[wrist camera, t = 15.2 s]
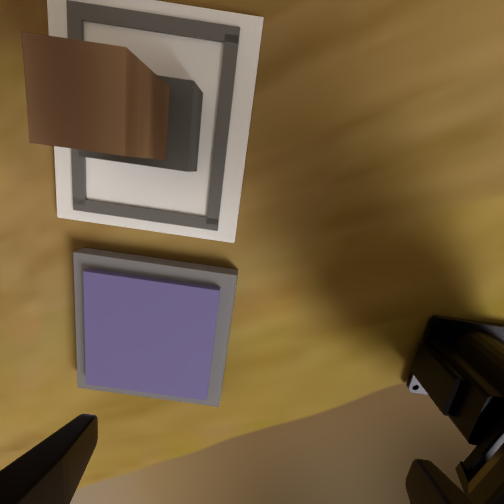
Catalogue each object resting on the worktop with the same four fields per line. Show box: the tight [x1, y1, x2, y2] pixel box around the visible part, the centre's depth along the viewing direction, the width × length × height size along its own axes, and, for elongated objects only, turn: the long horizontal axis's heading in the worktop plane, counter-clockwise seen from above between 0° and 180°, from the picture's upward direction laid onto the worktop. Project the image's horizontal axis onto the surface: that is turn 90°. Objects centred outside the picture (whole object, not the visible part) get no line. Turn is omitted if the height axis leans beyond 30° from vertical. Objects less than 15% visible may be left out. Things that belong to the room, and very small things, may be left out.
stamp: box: [22, 32, 203, 172], centre depth 14 cm, size 6×4×8 cm
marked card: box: [47, 0, 264, 243], centre depth 18 cm, size 12×13×1 cm
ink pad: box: [73, 247, 238, 407], centre depth 21 cm, size 11×11×2 cm
